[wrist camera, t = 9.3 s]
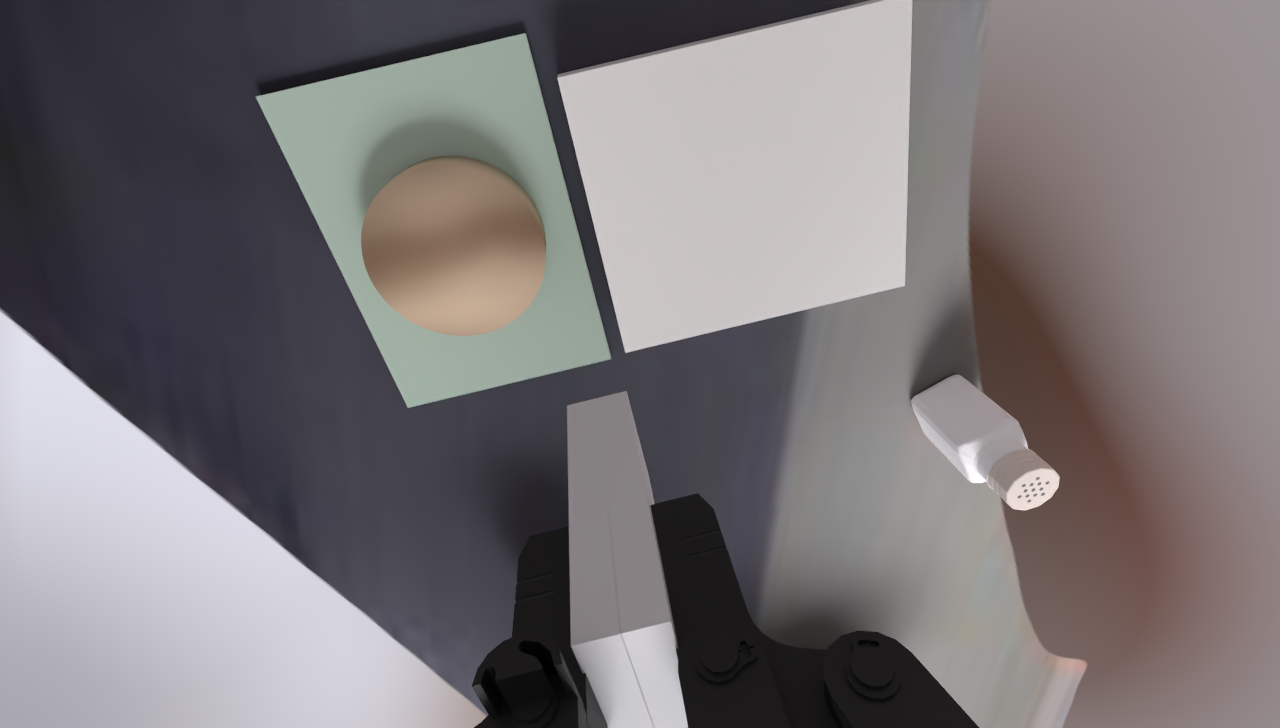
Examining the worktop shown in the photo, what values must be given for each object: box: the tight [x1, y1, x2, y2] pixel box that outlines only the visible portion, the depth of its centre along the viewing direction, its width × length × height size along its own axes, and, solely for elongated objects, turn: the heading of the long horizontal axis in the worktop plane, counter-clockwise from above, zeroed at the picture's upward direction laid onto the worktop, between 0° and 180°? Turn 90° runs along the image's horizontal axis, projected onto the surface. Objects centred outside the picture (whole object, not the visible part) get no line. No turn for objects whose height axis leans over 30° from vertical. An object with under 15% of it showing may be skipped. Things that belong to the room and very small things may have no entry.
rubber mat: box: [256, 33, 611, 408], centre depth 32 cm, size 18×13×1 cm
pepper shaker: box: [911, 374, 1059, 510], centre depth 38 cm, size 4×4×10 cm
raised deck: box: [557, 0, 912, 353], centre depth 30 cm, size 14×16×4 cm
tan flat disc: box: [361, 156, 546, 336], centre depth 30 cm, size 9×9×2 cm
